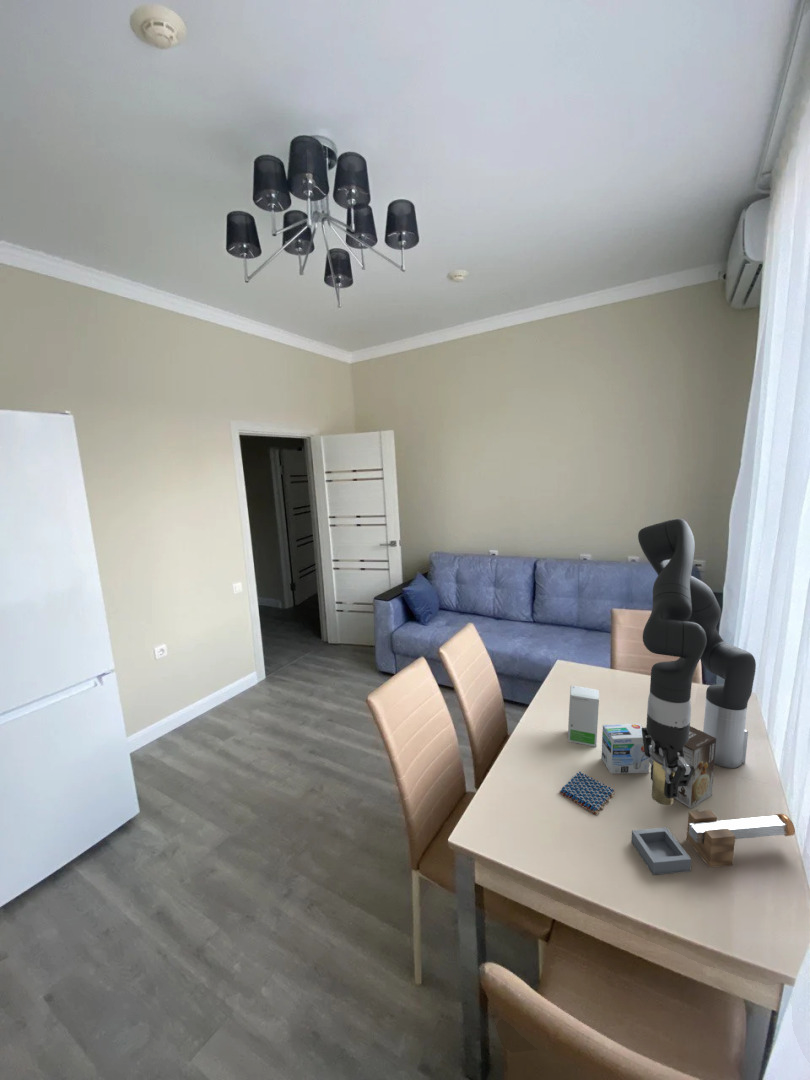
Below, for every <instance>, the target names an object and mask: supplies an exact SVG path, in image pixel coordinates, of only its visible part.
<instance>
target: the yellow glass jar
mask: <svg viewBox="0 0 810 1080" xmlns="http://www.w3.org/2000/svg"><path fill="white" fill-rule="evenodd" d="M652 758H653V760H654V762H653V778H652V780H651V798H652V799H653V800H654V801H655V802H657V803H658V804H660V805H663V806H671V805H673V804H674V799H675V798H670V799H668V798H666V796H665V795H664V790H665V780H666V777H665V770H663V769H662V765H663V761H662V760H661V756H660V755H659V754H658V753H657V752H653V751H652ZM677 765H678V763H677V764H672V765H669V764H668V767H675V766H677ZM674 775H675V774H674V772H671V776H674Z"/></svg>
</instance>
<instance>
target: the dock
mask: <svg viewBox="0 0 810 1080" xmlns="http://www.w3.org/2000/svg"><path fill="white" fill-rule="evenodd" d="M630 839H631V840H630V842H631V844H632V845H633V847H634V848H635V850H636V851H637V853H638V854H639V856H640V858H641V859H642V860H643V862H644V864H645V866H646V867H647V868H648V870H649V871H650V873H651V874H652V876H656V875H657V876H658V875H667V874H668V875H669V874H679V873H686V872H687V873H688V872H691V867H692V858H691V856H690V855H689V854H688V853H687V852H686V851H685V849H684V847H682V845H681V844H680V843H679V842H678V840H677V838H676V837H675V836H674V835H673V834H672V832H671V831H670V830H669V829H668V827H666V826H665V827H655V828H645V829H644V828H643V829H635V830H633V829H632V830H631V837H630Z"/></svg>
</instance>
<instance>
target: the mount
mask: <svg viewBox="0 0 810 1080" xmlns="http://www.w3.org/2000/svg"><path fill="white" fill-rule="evenodd" d="M687 813H688V814H687V815H688V816H687V817H688V818H687V828H686V829H687V830H686V840H687V842H688V843H689V844H690V845H691V846H692V848H693V849H694V850H695V851H696V852H697V854H698V855H699V856H700V858H701V859H702V860H703V861H704V862H705V863H706V865H707V866H708V868H714V867H716V868H717V867H724V866H733V863H734V854H735V853H734V852H735V844H736V839H735V835H734V834H733V833H732V832H731V831H730V830H729V829H728V828H726V829H715V830H705V836H704V842H700V843H696V842H695V840H694V839H693V838H692V837H691V836H690V834H689V824H690V823H701V822H712V821H718V816H717V815H716V814H715V813H714V812H713V811H712V810H711V809H705V810H694V811H692V810H691V811H688V812H687Z"/></svg>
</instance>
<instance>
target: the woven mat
mask: <svg viewBox="0 0 810 1080" xmlns="http://www.w3.org/2000/svg"><path fill="white" fill-rule="evenodd" d="M559 793H560V794H561V795H562V796H563V797H565V798H567V799H569V800H570V801H573V802H574V803H576V804H578V805H579V806H581V807H582V808H584V809H586V810H588V811H589V812H591V813H593V815H599V814H600V811H601V810H603V809H604V806H607V805H608V803H610V800H611V798H613V797H615V790H614V789H613V788H611V787H610V786H607V785H605V783H602V782H599V780H596V779H593V777H590V776H588V775H587V774H586V773H585V774H584V773H583V772H582V771H578V772H575V775H574V776H572V777H571V779H570V780H568V782H567V783H566V784H565V785H564V786H562V787H561V789H560V790H559Z"/></svg>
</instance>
